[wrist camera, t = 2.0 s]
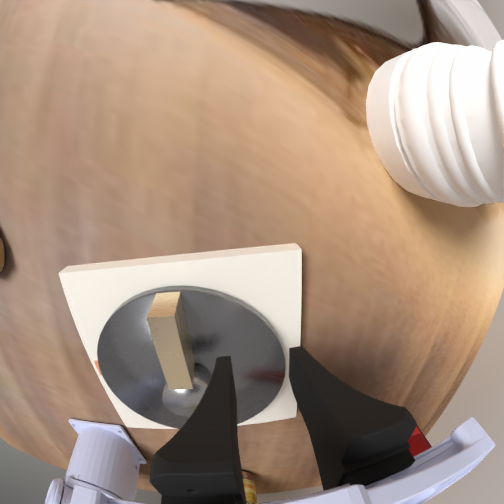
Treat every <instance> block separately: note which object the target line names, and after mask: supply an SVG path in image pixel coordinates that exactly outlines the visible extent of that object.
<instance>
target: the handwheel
mask: <svg viewBox="0 0 504 504" xmlns="http://www.w3.org/2000/svg"><path fill="white" fill-rule="evenodd" d="M222 356H231V362H232V369H233V376H234V382H235V390H236V398H237V424H240V423H242V422H245V421H247V420H249V419H251V418H252V417H254V416H256V415H257V414H259V413H260V412H262V411H263V410H264V409H265V408H266V407H267V406H268V405H269V404H270V403H271V402H272V401H273V400H274V399H275V397H276V396H277V394H278V393H279V391H280V389H281V387H282V385H283V381H284V378H285V370H286V364H285V356H284V353H283V349H282V346H281V343H280V341H279V339H278V337H277V334H276V332H275V331H274V329H273V328H272V326H271V325H270V324H269V322H268V321H267V320H266V319H265V318H264V317H263V316H262V315H261V314H260V313H259V312H257V311H256V310H255V309H254V308H252V307H251V306H249V305H248V304H246V303H244V302H243V301H241V300H239V299H237V298H235V297H233V296H231V295H228V294H226V293H222V292H219V291H216V290H213V289H208V288H203V287H197V286H186V285H182V286H166V287H159V288H154V289H151V290H147V291H144V292H142V293H140V294H137V295H135V296H133V297H131V298H130V299H128V300H127V301H125V302H123V303H122V304H121V305H120V306H119V307H118V308H117V309H116V310H115V311H114V312H113V313H112V315H111V316H110V317H109V319H108V320H107V322H106V324H105V326H104V328H103V329H102V331H101V333H100V337H99V340H98V346H97V358H98V364H99V368H100V371H101V373H102V376H103V378H104V380H105V382H106V383H107V385H108V387H109V388H110V389H111V391H112V392H113V393H114V394H115V396H116V397H117V398H118V399H119V400H120V401H121V402H122V403H124V404H125V405H126V406H127V407H128V408H130V409H131V410H133V411H134V412H136V413H137V414H139V415H141V416H143V417H144V418H146V419H149V420H151V421H153V422H156V423H158V424H161V425H164V426H168V427H172V428H177V429H181V428H182V427H183V425H184V424H185V423H186V422H187V420H188V419H189V417H190V416H191V415H192V413H193V412H194V410H195V409H196V407H197V405H198V404H199V402H200V400H201V398H202V396H203V394H204V392H205V390H206V388H207V386H208V383H209V381H210V378H211V376H212V373H213V370H214V367H215V362H216V358H217V357H222Z"/></svg>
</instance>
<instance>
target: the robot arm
mask: <svg viewBox="0 0 504 504" xmlns="http://www.w3.org/2000/svg"><path fill="white" fill-rule="evenodd" d="M289 380H290V384H291V387H292V391H293V394H294V397H295V399H296V402H297V404H298V407H299V409H300V411H301V414H302V416H303V419H304V421H305V423H306V426H307V428H308V431H309V434H310V438H311V441H312V445H313V448H314V452H315V456H316V460H317V464H318V468H319V472H320V476H321V481H322V485H323V489H324V491H321V492H317V493H313V494H309V495H305V496H301V497H295V498H290V499H285V500H279V501H273V502H266V503H259V504H423V503H424V502H426V501H428V500H429V499H431V498H432V497H434V496H436V495H437V494H439V493H440V492H442V491H443V490H445V489H446V488H448V487H449V486H451V485H452V484H454V483H455V482H456V481H458V480H459V479H461V478H462V477H463V476H465V475H466V474H467V473H469V472H470V471H471V470H473V469H474V468H475V467H476V466H477V465H478V463H480V462H481V460H482V459H484V457H485V456H486V455H487V454H488V453H489V452H490V451H491V450H492V449H493V448H494V447H495V444H494V442H493V441H492V440H491V439H490V437H489V436H488V435H487V433H486V432H485V431H484V430H483V429H482V427H481V426H480V425H479V424H478V422H477V421H476V420H475V419H474V417H471V418H469V419H468V420H466V421H465V422H464V423H462V424H460V425H459V426H458V427H457V428H455V430H454V431H453V432H452V433H451V435H450V437H448V438H447V439H445V440H443V441H442V442H440V443H438V444H437V445H435V446H433V447H431V448H429V449H428V450H426V451H424V452H422V453H420V454H418V455H416V456H414V457H413V455H412V454H411V452H410V450H409V449H410V448H411V446H410V444H409V442H408V440H409V438H410V437H411V435H412V434H413V432H414V430H415V428H416V421H415V419H414V418H413V416H412V415H411V414H410V412H409V411H408V410H407V409H406V408H404V407H400V406H396V405H392V404H388V403H385V402H382V401H379V400H377V399H374V398H372V397H369V396H367V395H365V394H363V393H361V392H359V391H357V390H355V389H353V388H352V387H350V386H348V385H347V384H345V383H344V382H342V381H341V380H339V379H338V378H337V377H335V376H334V375H333V374H331V373H330V372H329V371H328V370H326V369H325V368H324V367H323V366H322V365H321V364H320V363H318V362H317V361H316V360H315V359H314V358H313V357H312V356H311V355H310V354H309V353H308V352H307V351H306V350H305V349H304V348H303V347H302V346H298V347H292V348H289ZM69 423H70V424H71V425H72V427H73V428H74V429H75V431H76V432H77V433H78V434H79V435H78V438H77V441H76V444H75V447H74V450H73V453H72V456H71V460H70V463H69V466H68V469H67V473H66V476H65V479H64V480H62V479H60V478H58V479H54V480H53V481H52V483H51V485H50V487H49V490H48V493H47V497H46V500H45V504H144V503H137V502H132V501H133V500H134V498H135V496H136V491H137V483H138V475H139V468H140V464H146V463H147V461H146V460H145V458H144V457H143V456H142V454H141V453H140V452H139V450H138V449H137V447H136V446H135V445H134V443H133V442H132V440H131V439H130V437H129V436H128V434H127V433H126V431H125V430H124V428H123V427H122V426H120V425H113V424H104V423H96V422H89V421H82V420H76V419H69ZM150 483H151V484H152V485H153V486H154V487H155V488H156V490H157V491H158V492H159V493H160V494H161V495H162V499H161V504H247V501H246V495H245V489H244V483H243V477H242V470H241V463H240V456H239V448H238V438H237V398H236V390H235V382H234V376H233V369H232V362H231V356H222V357H217V358H216V362H215V367H214V370H213V373H212V376H211V378H210V381H209V383H208V386H207V388H206V390H205V392H204V394H203V396H202V398H201V400H200V402H199V404H198V405H197V407H196V409H195V410H194V412H193V413H192V415H191V416H190V417H189V419H188V420H187V422H186V423H185V424H184V425H183V427H182V428H181V429H180V430H179V431H178V432H177V433H176V434H175V435H174V436H173V438H172V439H171V440H170V441H168V442H167V443H166V444H165V445H164V446H163V447H162V448H160V449H159V450H158V451H157V452H156V453H155V456H154V459H153V462H152V466H151V472H150Z"/></svg>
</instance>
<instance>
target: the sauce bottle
mask: <svg viewBox="0 0 504 504" xmlns="http://www.w3.org/2000/svg"><path fill="white" fill-rule="evenodd" d="M242 477H243V483H244V489H245V495H246V501H247V504H257V497H256V488H255V483H254V479H253V476H252V474H250V473H249V472H246V471H242Z"/></svg>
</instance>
